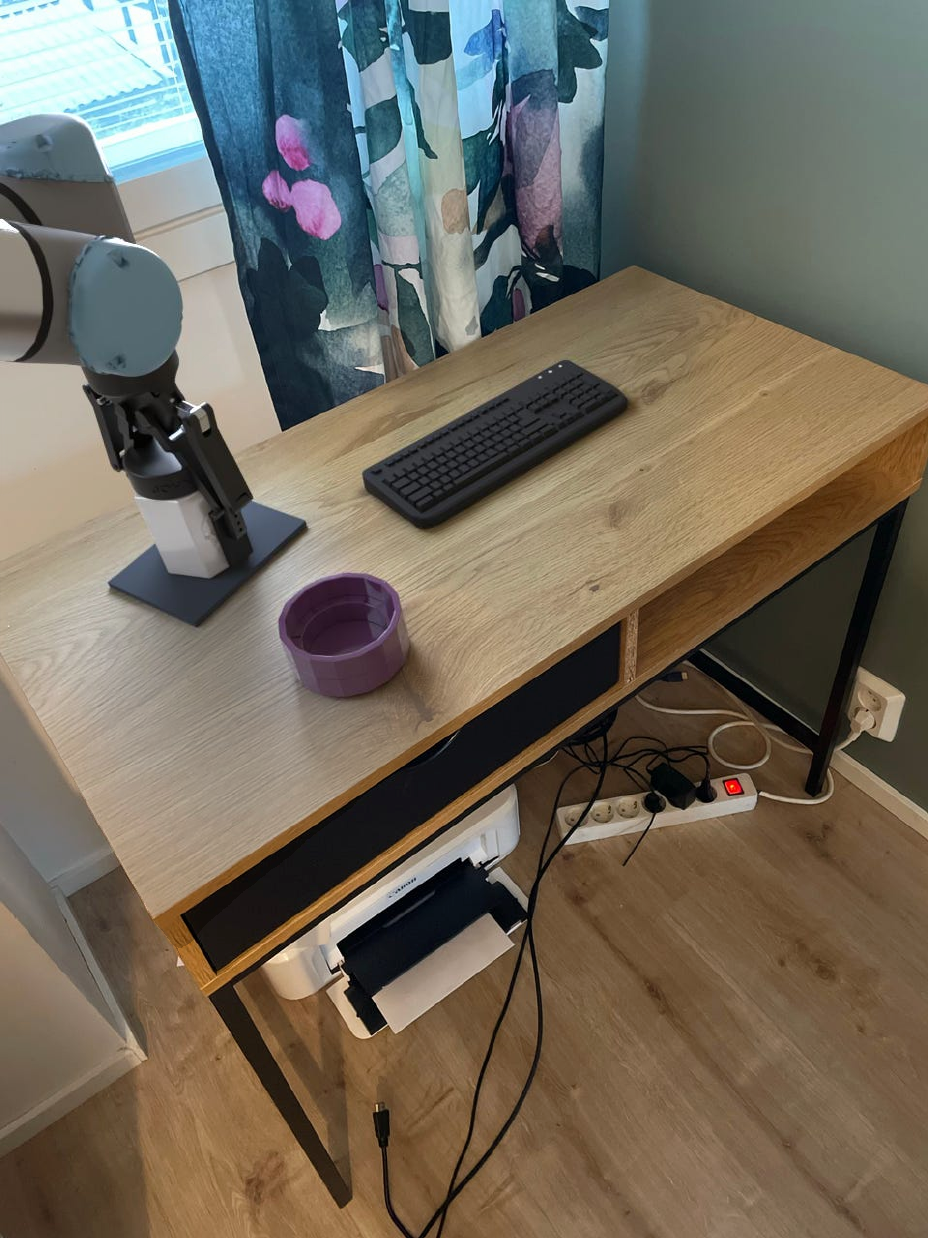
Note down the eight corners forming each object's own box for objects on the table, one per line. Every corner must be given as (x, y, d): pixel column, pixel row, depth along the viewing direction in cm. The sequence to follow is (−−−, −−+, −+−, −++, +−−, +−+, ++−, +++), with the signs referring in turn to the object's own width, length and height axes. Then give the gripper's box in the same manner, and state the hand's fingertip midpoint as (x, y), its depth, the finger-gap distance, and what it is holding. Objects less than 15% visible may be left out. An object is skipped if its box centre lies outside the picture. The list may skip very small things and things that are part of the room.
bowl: (362, 718, 72) (350, 678, 69) (268, 674, 77) (253, 634, 73) (432, 636, 78) (424, 595, 74) (341, 599, 82) (330, 558, 79)
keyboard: (425, 533, 88) (422, 517, 86) (362, 486, 94) (358, 471, 93) (634, 405, 99) (635, 389, 98) (565, 371, 106) (565, 356, 104)
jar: (192, 593, 84) (146, 492, 76) (148, 556, 89) (101, 456, 80) (269, 544, 88) (234, 442, 80) (223, 511, 93) (186, 411, 84)
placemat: (196, 627, 82) (194, 623, 81) (109, 586, 87) (106, 582, 87) (307, 525, 91) (306, 520, 90) (222, 493, 96) (220, 489, 95)
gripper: (248, 335, 69) (314, 553, 85) (68, 289, 79) (158, 493, 95) (179, 384, 65) (262, 603, 81) (-2, 329, 74) (104, 535, 91)
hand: (206, 544), depth 88 cm, fingers open, 9 cm apart
